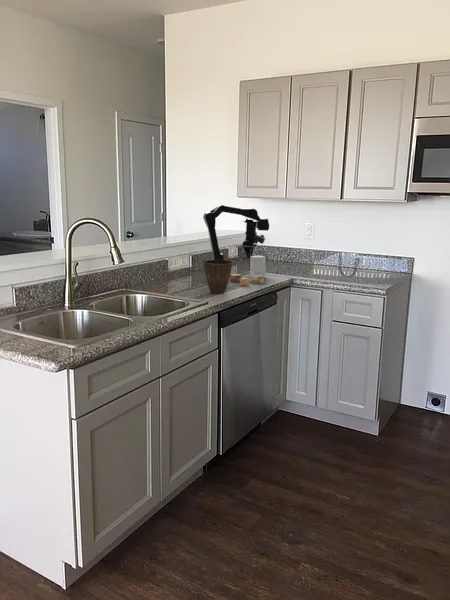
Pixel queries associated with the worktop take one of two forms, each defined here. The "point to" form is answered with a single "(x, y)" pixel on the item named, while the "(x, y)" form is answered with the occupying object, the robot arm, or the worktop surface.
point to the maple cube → (257, 279)
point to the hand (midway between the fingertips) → (249, 256)
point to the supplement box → (258, 265)
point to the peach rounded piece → (244, 281)
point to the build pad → (257, 284)
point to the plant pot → (217, 274)
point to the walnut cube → (235, 277)
